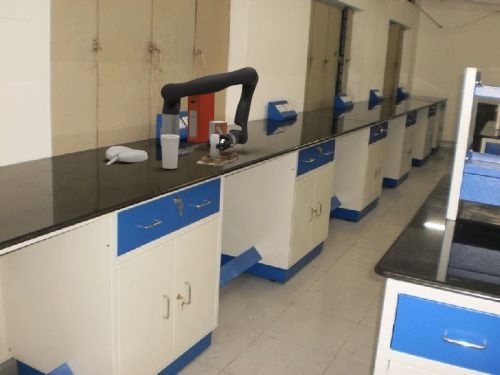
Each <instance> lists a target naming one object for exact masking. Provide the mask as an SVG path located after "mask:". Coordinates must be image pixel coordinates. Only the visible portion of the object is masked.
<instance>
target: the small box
mask: <svg viewBox="0 0 500 375" xmlns="http://www.w3.org/2000/svg"><path fill="white" fill-rule="evenodd" d="M225 133H228V122H227V121H223V120H214V121H210V123H209V140H211V134H219V135H222V134H225Z"/></svg>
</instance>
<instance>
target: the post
mask: <svg viewBox="0 0 500 375" xmlns="http://www.w3.org/2000/svg"><path fill="white" fill-rule="evenodd" d="M216 144H219V134H211V140H210V148H209V153H210V158H213V159H219V151H220V149H216Z"/></svg>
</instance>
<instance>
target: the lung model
mask: <svg viewBox="0 0 500 375" xmlns="http://www.w3.org/2000/svg"><path fill="white" fill-rule="evenodd" d="M105 157H106V159H108V160H109V161H108V162H107V163H106V164H105V166H111V165H113V163H115V162H123V163H124V162H125V163H140V162H145V161H147V160H149V156H148V152H146V151H145V150H143V149H142V150H141V149H132V148H130V147H127V146H123V145H116V146H114V145H112V146H111V147H109V148H108V149H107V150H106V151H105Z"/></svg>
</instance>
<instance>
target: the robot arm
mask: <svg viewBox="0 0 500 375" xmlns="http://www.w3.org/2000/svg"><path fill="white" fill-rule="evenodd" d="M259 78H260V77H259V74H258V72H257V70H256V69H255V68H253V67H251V66H246V67H242V68H239V69H236V70H232V71H228V72H221V73H216V74H210V75H204V76H201V77H198V78H194V79H191V80H188V81H185V82H178V83H175V82H173V83H172V82H170V83H167V84H166V83H165V84H164V85H163V86H162V87H161V89H160V96H161V97H162V99H163V105H162V108H161V127H160V128H159V130H160V134H159V137H160V138H159V139H160V140H159V142H160V143H159V144H160V146H161V147H162V140H161V135H168V134H170V135H178V136H180V114H181V111H180V110H181V105H182V104H181V103H182V98H183V99H184V98H186V97H187V98H188V96H196V95H205V94H211V93H219V92H221V91H224V90H225V89H228V88H230V87H232V86H234V87H235V86H239V85H241V94H240V99H239V101H238V104H237V105H236V108H235V110H236V111H235V115H234V120H233V124H234V125H236V126H239V127H240V128H241V130H240V129H233V128H231V129H229V131H227V133H225V134H222V135H219V144H216V149H219V150H221V151H226V150H228V149H230V148H234V146H237V145H245V144H246V143H247V142H248V141H249V132H248V121H249V118H250V111H251V106H252V101H253V98H254V94H255V90H256V88H257V85H258V82H259ZM205 143H206V144H205V146H206V148H207V149H210V140H209V139H208V140H207V141H205ZM178 147H180V144H179V145H178Z"/></svg>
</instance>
